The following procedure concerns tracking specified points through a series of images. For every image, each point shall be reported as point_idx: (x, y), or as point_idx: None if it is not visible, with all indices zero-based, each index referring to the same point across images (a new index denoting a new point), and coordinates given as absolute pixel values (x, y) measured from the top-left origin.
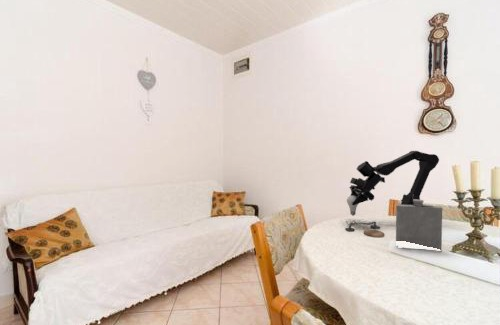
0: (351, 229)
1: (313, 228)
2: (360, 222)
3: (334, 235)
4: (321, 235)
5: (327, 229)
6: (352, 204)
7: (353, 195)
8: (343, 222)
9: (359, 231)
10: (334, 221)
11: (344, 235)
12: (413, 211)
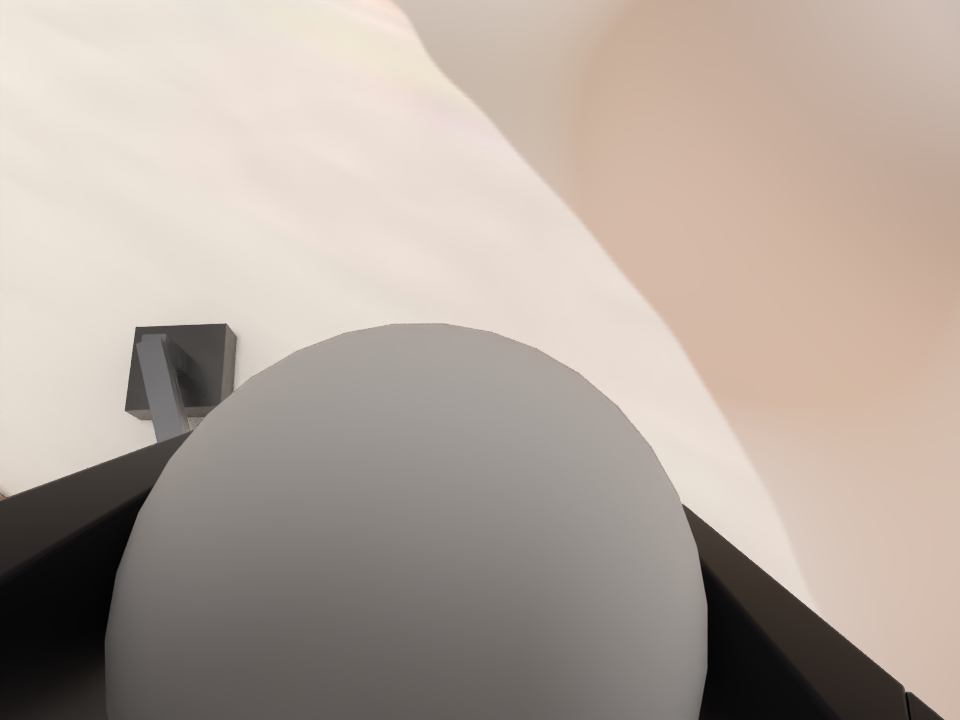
0: (131, 363)
1: (410, 54)
2: None
3: (111, 126)
4: (169, 24)
5: (333, 158)
6: None
7: (425, 659)
8: None
9: None
10: (648, 404)
11: (59, 218)
12: None
